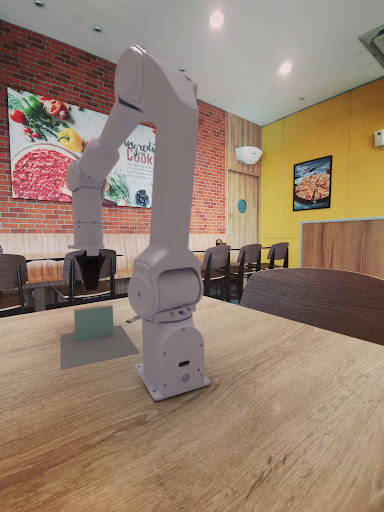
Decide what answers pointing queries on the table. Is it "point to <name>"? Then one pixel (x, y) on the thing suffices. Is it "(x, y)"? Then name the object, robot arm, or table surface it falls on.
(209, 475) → the table surface
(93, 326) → the tile
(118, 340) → the mat
